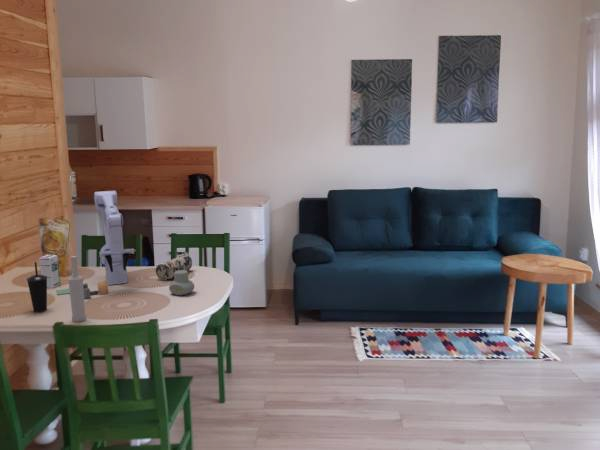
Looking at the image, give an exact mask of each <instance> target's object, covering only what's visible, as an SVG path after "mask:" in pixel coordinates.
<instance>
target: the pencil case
mask: <svg viewBox="0 0 600 450" xmlns="http://www.w3.org/2000/svg"><path fill="white" fill-rule="evenodd" d="M189 255H190V253H189V252H184V253H182V254H179V255H178V256H177V257H174V258H172V259H169V260H167V261H166V262H161V263H158V264H157V265H156V267H155V275H156V277H157V278H158V279H159V280H161V281H167V279H168V280H171V279H174V278H173V277H174V272H175V271H178V270H186V271H187V270H188V271H189V270H191V269H192V267H193V260H192V257H190V256H189Z"/></svg>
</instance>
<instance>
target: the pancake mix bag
mask: <svg viewBox="0 0 600 450" xmlns="http://www.w3.org/2000/svg"><path fill="white" fill-rule="evenodd" d="M37 221H38V222H37V223H38V230H39V241H40V248H41V249H40V251H41V257H43V256H46V255H58V264H59V274H60V278H61V276H62V277H67V276H68V274H67V270H66V269H67V261H68V251H69V250H68V248H69V238H70V231H71V230H70V229H71V222H70V221H69V220H67V219H56V218H46V217H42V218H41V217H40V218H38V219H37Z"/></svg>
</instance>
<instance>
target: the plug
mask: <svg viewBox="0 0 600 450" xmlns="http://www.w3.org/2000/svg"><path fill="white" fill-rule="evenodd" d="M107 294H109V285H108V284H107V281H105V280H101V281H99V282H97V290H90V296H91V295H100V296H102V295H107Z"/></svg>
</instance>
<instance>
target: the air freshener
mask: <svg viewBox="0 0 600 450" xmlns="http://www.w3.org/2000/svg"><path fill="white" fill-rule="evenodd" d="M188 271H189V270H188ZM188 271H186V270H178V271H175V272H174V278H173V279H174V280H173V281H172V282H171V283H170V284H169V287H168V289H169V291H170V293H172V294H173V295H176V296H178V295H181V296H185V295H189V294H190V293H192V292H193V291H194V289H195V283H194V282H193V281H192V280H190V279H189V272H188Z"/></svg>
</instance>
